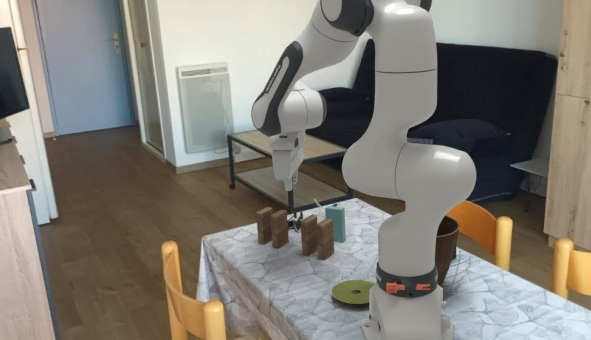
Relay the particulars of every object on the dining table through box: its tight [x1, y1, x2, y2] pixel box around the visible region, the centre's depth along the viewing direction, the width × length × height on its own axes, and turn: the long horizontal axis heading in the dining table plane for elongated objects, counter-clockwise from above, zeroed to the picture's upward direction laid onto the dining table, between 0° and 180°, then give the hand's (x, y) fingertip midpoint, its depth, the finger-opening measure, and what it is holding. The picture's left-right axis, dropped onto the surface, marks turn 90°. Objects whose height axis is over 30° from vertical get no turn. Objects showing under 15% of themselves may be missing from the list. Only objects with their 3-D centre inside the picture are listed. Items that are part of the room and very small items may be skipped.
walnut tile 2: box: [270, 209, 290, 249], centre depth 160 cm, size 2×5×10 cm, turn 145°
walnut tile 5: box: [316, 218, 335, 261], centre depth 151 cm, size 2×5×10 cm, turn 145°
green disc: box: [331, 279, 376, 305], centre depth 130 cm, size 11×11×2 cm
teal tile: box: [324, 205, 347, 244], centre depth 161 cm, size 2×5×10 cm, turn 64°
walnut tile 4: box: [300, 214, 318, 257], centre depth 154 cm, size 2×5×10 cm, turn 146°
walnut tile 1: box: [255, 206, 274, 246], centre depth 163 cm, size 2×5×10 cm, turn 145°
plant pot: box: [435, 214, 460, 287], centre depth 132 cm, size 15×15×16 cm
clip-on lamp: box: [287, 198, 341, 234], centre depth 174 cm, size 12×6×18 cm
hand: (291, 186), depth 153 cm, fingers open, 4 cm apart
